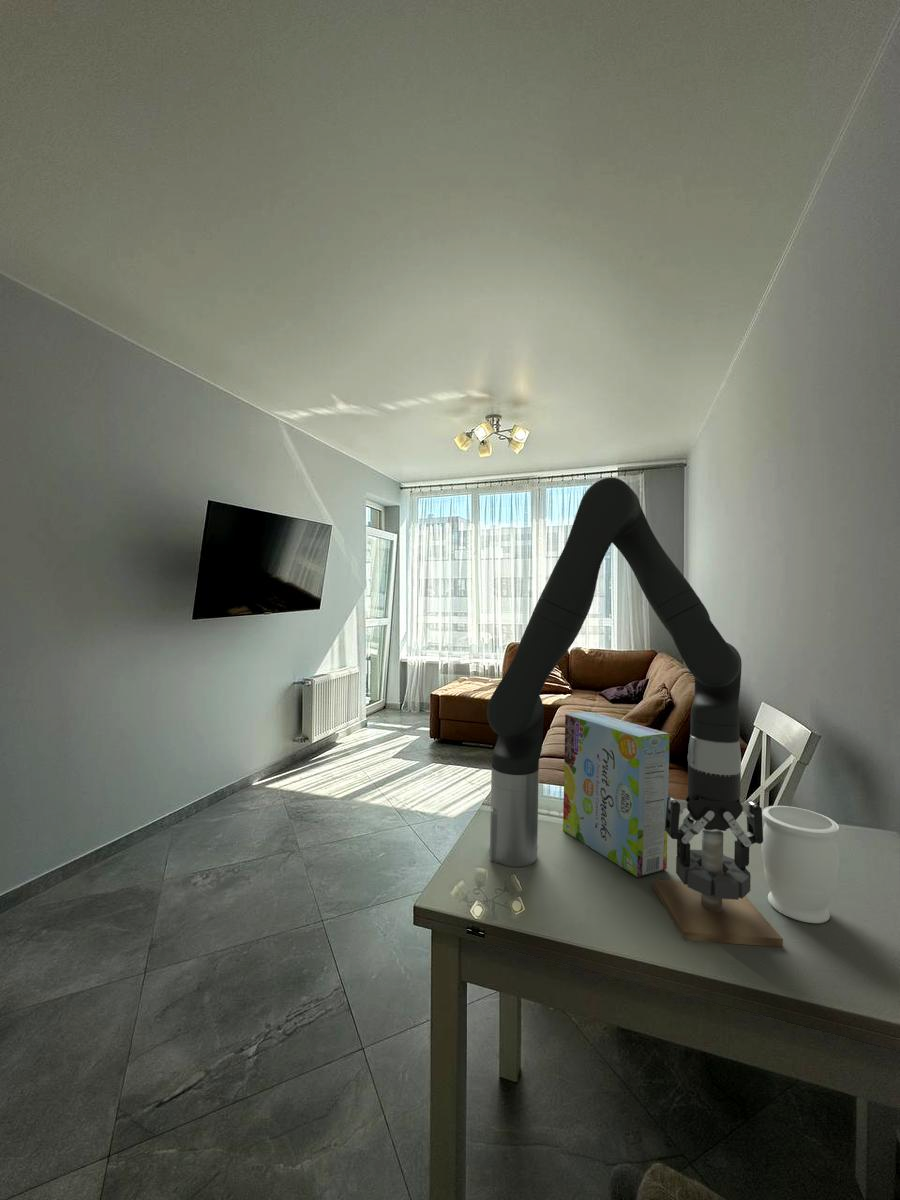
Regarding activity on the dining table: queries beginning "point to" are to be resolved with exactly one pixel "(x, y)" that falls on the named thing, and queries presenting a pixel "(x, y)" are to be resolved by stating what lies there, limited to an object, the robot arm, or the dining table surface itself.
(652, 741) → the snack box
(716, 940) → the post base
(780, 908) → the jar
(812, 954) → the dining table surface
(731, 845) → the dining table surface
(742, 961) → the dining table surface
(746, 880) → the ring
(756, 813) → the robot arm
